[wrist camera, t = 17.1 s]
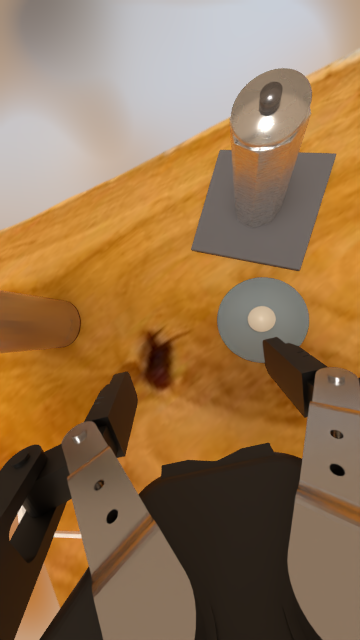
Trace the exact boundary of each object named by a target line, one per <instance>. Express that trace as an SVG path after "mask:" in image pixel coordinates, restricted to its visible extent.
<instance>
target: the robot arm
mask: <svg viewBox="0 0 360 640" xmlns="http://www.w3.org/2000/svg"><path fill="white" fill-rule="evenodd" d="M79 328H80V318H79V314H78V311H77V310H76V308H75V307H74V306H73V305H72V304H71V303H69V302H67V301H62V300H56V299H50V298H44V297H38V296H31V295H25V294H19V293H13V292H6V291H0V353H8V352H18V351H28V350H38V349H49V348H59V347H65V346H68V345H70V344H71V343H72V342H73V341H74V340H75V338H76V337H77V335H78V332H79ZM263 352H264V360H265V366H266V369H267V371H268V373H269V375H270V376H271V377H272V378H273V380H274V381H275V382H276V383H277V385H278V386H279V387H280V388H281V389H282V391H283V392H284V393H285V394H286V396H287V397H288V398H289V399H290V400H291V402H292V403H293V404H294V405H295V407H296V408H297V409H298V410H299V411H300V413H301V414H302V415H303V416H304V418H305V417H308V420H307V427H306V435H305V443H304V451H303V458H302V459H301V458H298V457H296V456H293V455H289V454H285V453H279V452H273V450H272V448H271V446H270V444H269V443H265V444H260V445H256V446H251V447H246V448H242V449H240V450H238V451H236V452H234V453H232V454H230V455H228V456H226V457H224V458H222V459H220V460H218V461H197V460H186V461H181V462H176V463H172V464H167V465H162V473H161V477H159V478H157V479H156V480H154V481H153V482H151V483H150V484H149V485H148V486H146V487H145V488H144V489H143V490H142V491H141V492H140V493H139V495H138V493H137V492H136V490H135V488H134V487H133V485H132V483H131V482H130V480H129V478H128V477H127V475H126V473H125V471H124V470H123V468H122V466H121V465H120V463H119V461H118V460H117V458H118V457H123V456H125V454H126V450H127V446H128V441H129V437H130V433H131V429H132V425H133V420H134V416H135V412H136V408H137V403H138V399H137V394H136V391H135V388H134V385H133V382H132V380H131V377H130V374H129V373H128V372H123V373H118V374H115V375H114V376H113V378H112V380H111V382H110V384H108V385H106V386H105V387H104V388H103V389H102V390H101V391H100V393H99V395H98V397H97V399H96V400H95V402H94V405H93V406H92V408H91V410H90V412H89V414H88V415H87V417H86V419H85V421H84V422H83V423H81V424H79V425H77V426H75V427H74V428H73V429H71V430H70V431H69V432H68V433H67V434H66V435H65V437H64V438H63V441H62V444H60V445H58V446H56V447H54V448H52V449H50V450H48V451H45V452H44V451H43V450H42V448H41V446H39V445H32V446H29V447H27V448H25V449H23V450H21V451H19V452H18V453H17V454H15V455H14V456H13V457H12V458H11V459H10V460H9V461H8V462H7V463H6V464H5V465H4V466H3V468H2V469H1V470H0V640H14V638H15V635H16V633H17V631H18V628H19V625H20V623H21V620H22V618H23V615H24V612H25V610H26V607H27V604H28V602H29V599H30V597H31V594H32V591H33V589H34V586H35V584H36V581H37V578H38V576H39V573H40V571H41V568H42V565H43V563H44V560H45V558H46V555H47V552H48V550H49V547H50V545H51V542H52V539H53V537H54V534H55V531H56V529H57V526H58V524H59V521H60V518H61V516H62V513H63V511H64V508H65V505H66V503H67V501H68V500H70V499H72V501H73V505H74V509H75V513H76V517H77V521H78V525H79V529H80V533H81V536H82V540H83V544H84V548H85V552H86V556H87V560H88V564H89V567H88V569H87V570H86V572H85V573H84V575H83V576H82V578H81V579H80V581H79V582H78V584H77V585H76V587H75V588H74V589H73V591H72V592H71V594H70V595H69V597H68V598H67V600H66V601H65V603H64V604H63V606H62V607H61V609H60V610H59V612H58V613H57V615H56V616H55V617H54V619H53V621H52V622H51V623H50V625H49V626H48V628H47V629H46V631H45V632H44V634H43V635H42V637H41V638H40V640H360V378H358V377H357V376H356V375H355V374H353V373H352V372H350V371H348V370H345V369H341V368H336V367H327V366H325V365H324V364H323V363H321V362H320V361H318V360H317V359H316V358H314V357H313V356H310V354H309V353H307V352H305V351H304V350H303V349H302V348H300V347H299V346H297V345H294V344H291V343H284V342H283V341H282V340H281V339H279V338H278V337H274V338H269V339H265V340H263ZM22 505H23V507H24V508H25V510H26V512H25V514H24V516H23V517H22V519H21V521H20V523H19V525H18V527H17V529H16V531H15V532H14V534H13V536H12V538H11V540H10V541H9V531H10V527H11V525H12V523H13V521H14V519H15V517H16V515H17V513H18V512H19V510H20V508H21V506H22Z"/></svg>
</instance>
